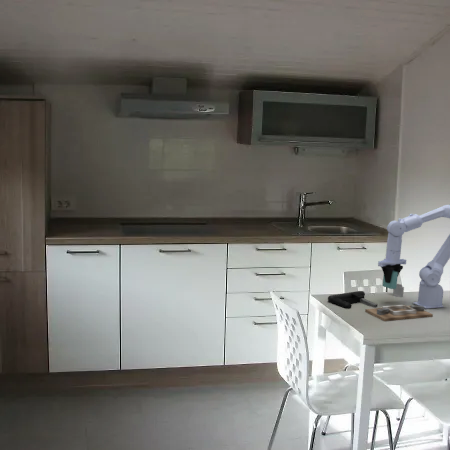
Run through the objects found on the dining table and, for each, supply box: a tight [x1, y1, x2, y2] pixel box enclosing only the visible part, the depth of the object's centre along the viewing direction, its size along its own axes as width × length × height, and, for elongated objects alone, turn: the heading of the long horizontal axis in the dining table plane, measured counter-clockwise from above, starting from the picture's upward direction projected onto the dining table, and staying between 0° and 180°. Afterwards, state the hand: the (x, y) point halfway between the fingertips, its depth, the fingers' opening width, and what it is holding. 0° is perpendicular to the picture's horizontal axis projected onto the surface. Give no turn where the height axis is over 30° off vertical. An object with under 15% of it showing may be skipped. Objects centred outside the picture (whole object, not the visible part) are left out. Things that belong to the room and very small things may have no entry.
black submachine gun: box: [327, 290, 378, 309], centre depth 246 cm, size 3×20×16 cm
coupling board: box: [364, 304, 434, 322], centre depth 233 cm, size 23×12×3 cm, turn 113°
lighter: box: [392, 283, 405, 298], centre depth 261 cm, size 7×2×8 cm, turn 60°
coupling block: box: [382, 271, 399, 290], centre depth 247 cm, size 3×5×7 cm, turn 32°
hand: (390, 282), depth 247 cm, fingers closed on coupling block, 3 cm apart
